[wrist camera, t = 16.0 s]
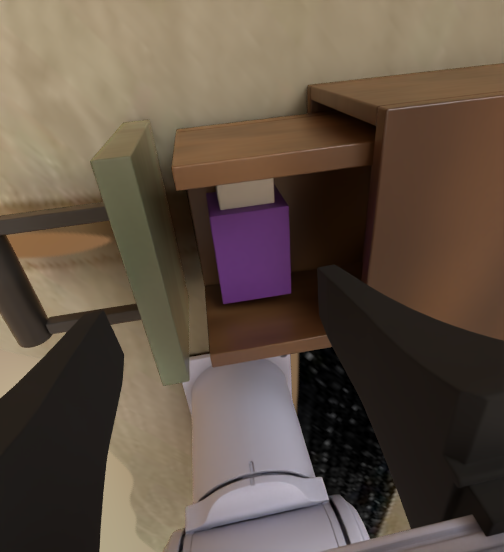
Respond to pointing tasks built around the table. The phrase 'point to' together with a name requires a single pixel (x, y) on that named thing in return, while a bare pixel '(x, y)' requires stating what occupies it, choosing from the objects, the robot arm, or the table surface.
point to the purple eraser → (250, 240)
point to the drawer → (162, 242)
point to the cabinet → (433, 189)
